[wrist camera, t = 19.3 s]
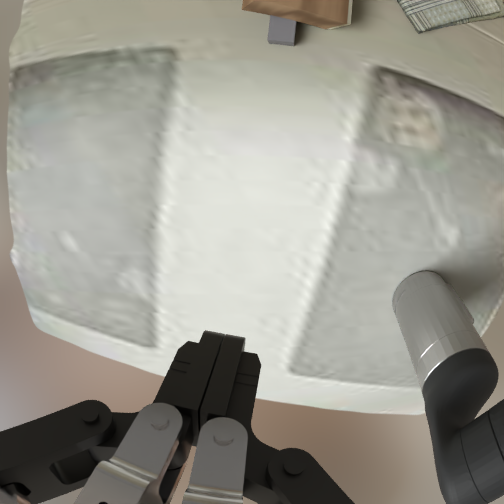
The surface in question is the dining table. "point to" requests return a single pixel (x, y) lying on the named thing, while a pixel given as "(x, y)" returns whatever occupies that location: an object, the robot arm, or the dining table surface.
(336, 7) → the walnut slab
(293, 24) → the rail
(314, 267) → the dining table surface
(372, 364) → the dining table surface
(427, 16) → the dish towel
